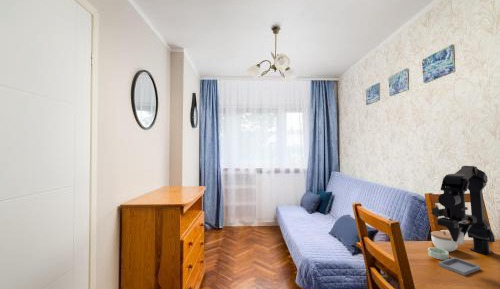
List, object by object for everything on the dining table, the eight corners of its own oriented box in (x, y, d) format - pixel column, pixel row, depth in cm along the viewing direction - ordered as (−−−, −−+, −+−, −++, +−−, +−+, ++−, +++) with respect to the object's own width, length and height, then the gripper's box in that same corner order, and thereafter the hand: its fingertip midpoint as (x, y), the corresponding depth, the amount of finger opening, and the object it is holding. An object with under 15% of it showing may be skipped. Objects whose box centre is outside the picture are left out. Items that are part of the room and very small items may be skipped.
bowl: (434, 252, 114) (434, 246, 114) (452, 258, 107) (452, 252, 107) (424, 255, 111) (424, 249, 112) (442, 262, 104) (442, 255, 105)
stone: (454, 240, 102) (454, 230, 102) (466, 243, 98) (465, 232, 98) (449, 241, 100) (449, 231, 100) (461, 245, 96) (460, 234, 97)
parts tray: (454, 261, 105) (454, 257, 105) (480, 270, 97) (480, 266, 97) (438, 266, 100) (438, 262, 101) (464, 276, 92) (464, 272, 92)
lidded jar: (464, 255, 111) (463, 235, 111) (439, 253, 113) (438, 234, 113) (450, 246, 121) (449, 228, 122) (427, 244, 124) (426, 227, 124)
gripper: (446, 198, 111) (448, 231, 110) (422, 202, 103) (424, 237, 103) (476, 203, 100) (478, 239, 100) (452, 208, 93) (454, 247, 93)
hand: (457, 240), depth 99 cm, fingers closed on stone, 4 cm apart
